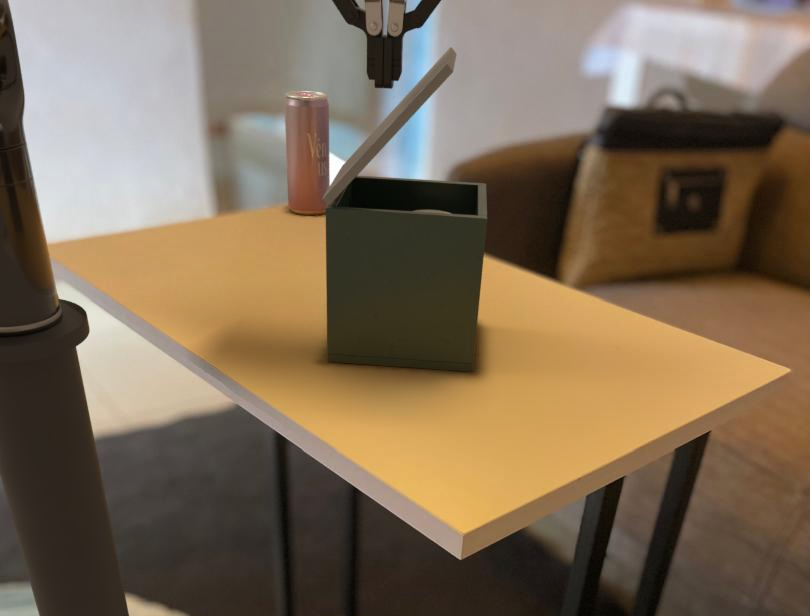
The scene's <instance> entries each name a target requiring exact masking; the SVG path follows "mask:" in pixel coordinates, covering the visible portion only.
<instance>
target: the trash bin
mask: <svg viewBox="0 0 810 616" xmlns="http://www.w3.org/2000/svg"><path fill="white" fill-rule="evenodd" d="M487 198H488V197H487V183H485V182H484V183H483V182H467V181H451V180H435V179H421V178H419V179H418V178H403V177H389V176H373V175H372V176H371V175H357V176H356V177H355V178H354V179H353V181H352V182H351V183H350V184H349V185H348V186H347V187H346V188H345V189H344V190H343V191H342V192H341V194H340V195H339V196H338V197H337V198H336V199H335V200H334V201H333V202H332V203H331V204H330V205H327V207H326V212H325V274H326V275H325V276H326V279H325V280H326V283H325V284H326V287H325V288H326V353H327V354H326V358H327V359H326V360H327V363H339V364H352V365H353V364H354V365H365V366H366V365H368V366H382V367H395V368H409V369H411V368H412V369H423V370H424V369H426V370H438V371H439V370H440V371H454V372H467V373H471V372H473V371H474V360H475V351H476V350H475V349H476V340H477V330H478V329H477V328H478V321H479V308H480V298H481V289H482V280H483V279H482V278H483V268H484V256H485V248H486V236H487V227H488V201H487V200H488V199H487ZM416 210H439V211H445V212H449V213H451V214H446V213H430V212H414V211H416Z"/></svg>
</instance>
